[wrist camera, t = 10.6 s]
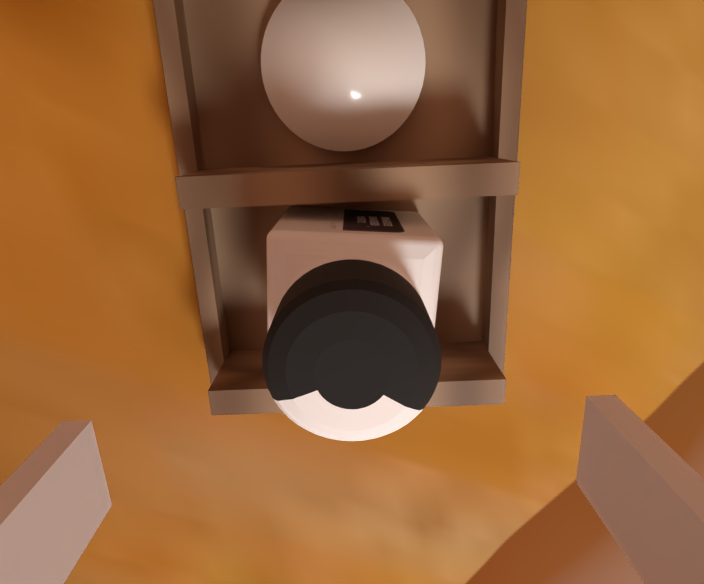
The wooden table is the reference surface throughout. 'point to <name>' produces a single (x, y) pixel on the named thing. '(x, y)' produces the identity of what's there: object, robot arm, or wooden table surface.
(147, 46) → the wooden table surface
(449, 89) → the rack
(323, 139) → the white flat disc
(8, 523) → the robot arm
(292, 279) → the container
